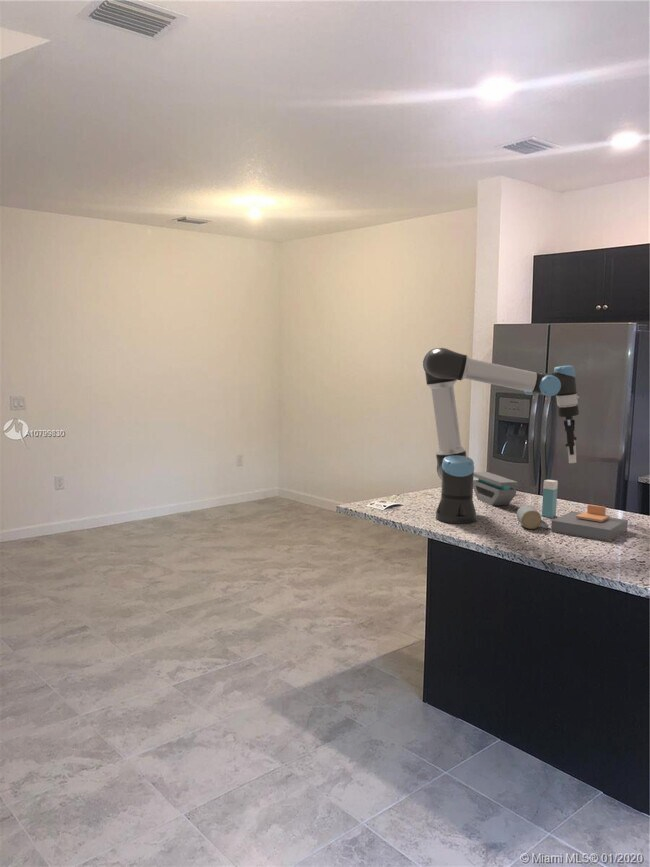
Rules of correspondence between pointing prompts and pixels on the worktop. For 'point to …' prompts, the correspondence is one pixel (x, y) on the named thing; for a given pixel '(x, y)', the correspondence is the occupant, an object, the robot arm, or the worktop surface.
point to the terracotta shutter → (594, 513)
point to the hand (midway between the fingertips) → (572, 459)
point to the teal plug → (549, 498)
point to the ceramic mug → (530, 517)
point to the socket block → (589, 526)
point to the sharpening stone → (493, 488)
